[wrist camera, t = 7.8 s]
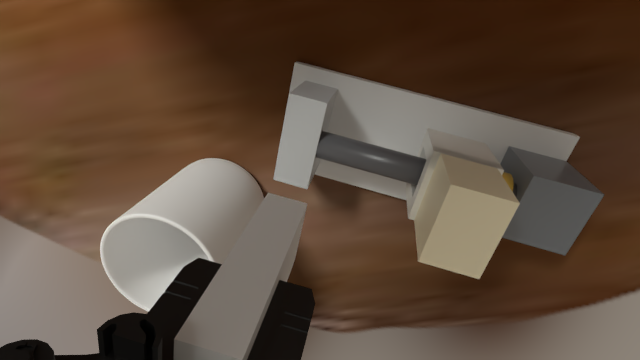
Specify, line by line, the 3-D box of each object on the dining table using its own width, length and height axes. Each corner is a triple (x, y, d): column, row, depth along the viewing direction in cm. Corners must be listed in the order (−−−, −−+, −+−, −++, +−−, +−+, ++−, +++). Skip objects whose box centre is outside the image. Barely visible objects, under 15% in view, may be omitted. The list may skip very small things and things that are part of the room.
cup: (266, 160, 31) (213, 223, 22) (269, 276, 36) (227, 366, 27) (173, 150, 32) (86, 206, 23) (189, 263, 37) (122, 346, 28)
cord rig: (278, 159, 31) (254, 192, 25) (297, 61, 27) (273, 73, 22) (522, 228, 29) (550, 277, 24) (574, 133, 26) (622, 166, 20)
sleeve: (405, 186, 27) (410, 259, 19) (427, 127, 25) (442, 182, 17) (459, 202, 27) (487, 281, 19) (486, 143, 25) (528, 205, 17)
